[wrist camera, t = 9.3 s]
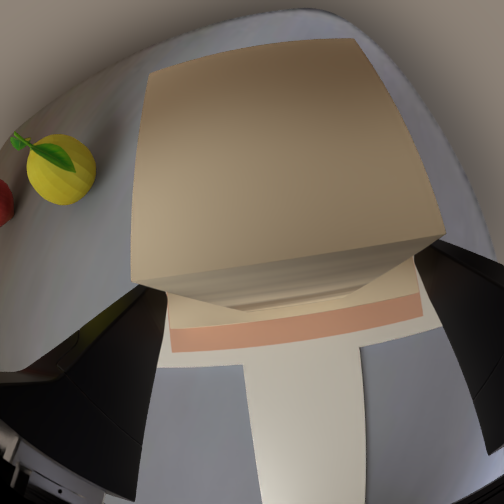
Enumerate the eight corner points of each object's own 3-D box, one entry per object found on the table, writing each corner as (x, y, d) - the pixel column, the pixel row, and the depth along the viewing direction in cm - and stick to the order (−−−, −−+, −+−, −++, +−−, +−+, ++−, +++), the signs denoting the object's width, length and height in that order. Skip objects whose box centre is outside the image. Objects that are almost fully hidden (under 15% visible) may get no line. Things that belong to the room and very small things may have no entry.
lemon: (62, 181, 23) (-5, 133, 14) (104, 147, 23) (42, 85, 14) (69, 234, 21) (-15, 191, 12) (117, 198, 21) (35, 134, 12)
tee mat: (440, 489, 11) (443, 492, 11) (186, 520, 14) (183, 525, 13) (408, 173, 18) (411, 169, 17) (144, 216, 20) (139, 212, 20)
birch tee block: (406, 295, 15) (573, 231, 3) (183, 328, 17) (-3, 317, 5) (385, 205, 17) (474, 47, 5) (177, 237, 19) (33, 122, 6)
